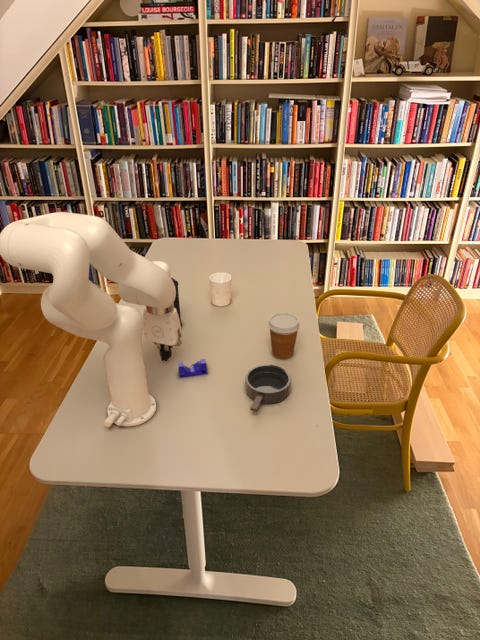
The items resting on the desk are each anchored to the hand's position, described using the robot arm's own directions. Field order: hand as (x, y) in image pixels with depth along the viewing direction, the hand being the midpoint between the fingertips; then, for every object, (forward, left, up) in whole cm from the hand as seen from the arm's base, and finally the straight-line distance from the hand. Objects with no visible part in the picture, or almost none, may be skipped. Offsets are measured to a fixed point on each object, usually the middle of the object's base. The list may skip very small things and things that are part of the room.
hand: (166, 358), depth 142 cm
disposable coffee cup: (+18, -31, -3) cm, 35 cm away
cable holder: (0, -9, -3) cm, 9 cm away
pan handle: (-9, -32, 0) cm, 33 cm away
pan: (0, -32, -3) cm, 32 cm away
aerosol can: (+20, +9, -3) cm, 22 cm away
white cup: (+41, -1, -3) cm, 41 cm away
